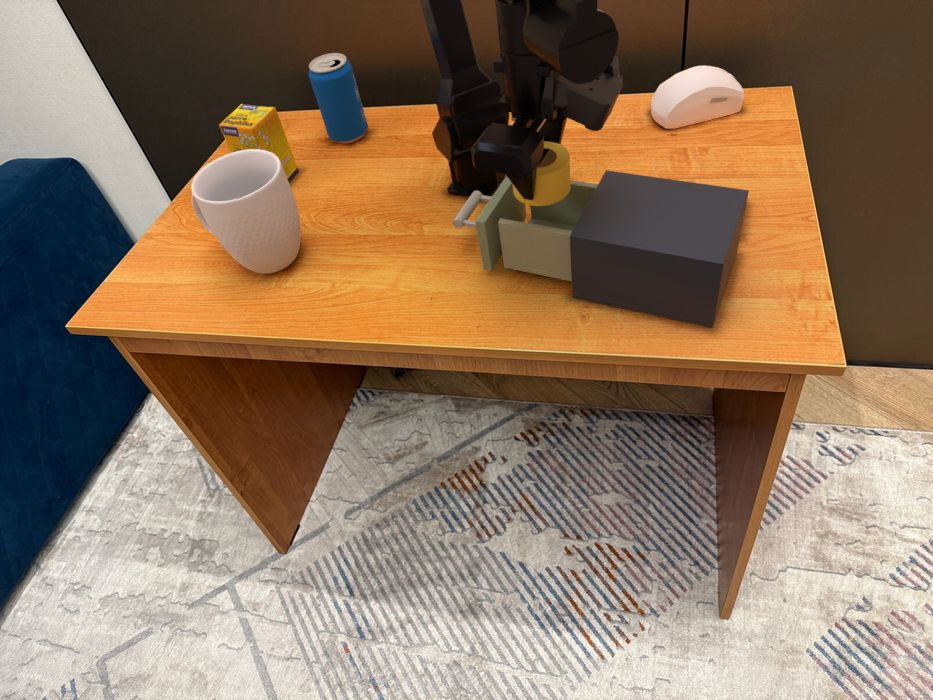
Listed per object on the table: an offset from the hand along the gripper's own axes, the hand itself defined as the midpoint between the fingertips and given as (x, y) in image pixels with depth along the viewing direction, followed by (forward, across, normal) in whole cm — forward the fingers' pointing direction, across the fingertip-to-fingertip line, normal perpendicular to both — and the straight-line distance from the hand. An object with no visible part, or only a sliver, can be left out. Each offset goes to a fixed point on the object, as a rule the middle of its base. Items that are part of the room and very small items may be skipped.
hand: (540, 181), depth 77 cm
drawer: (+10, 0, +1) cm, 10 cm away
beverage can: (+11, +18, +41) cm, 46 cm away
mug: (+11, -10, +36) cm, 39 cm away
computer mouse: (+11, +36, -9) cm, 38 cm away
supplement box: (+11, +4, +46) cm, 47 cm away
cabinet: (+11, 0, -13) cm, 17 cm away
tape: (+1, 0, 0) cm, 1 cm away
